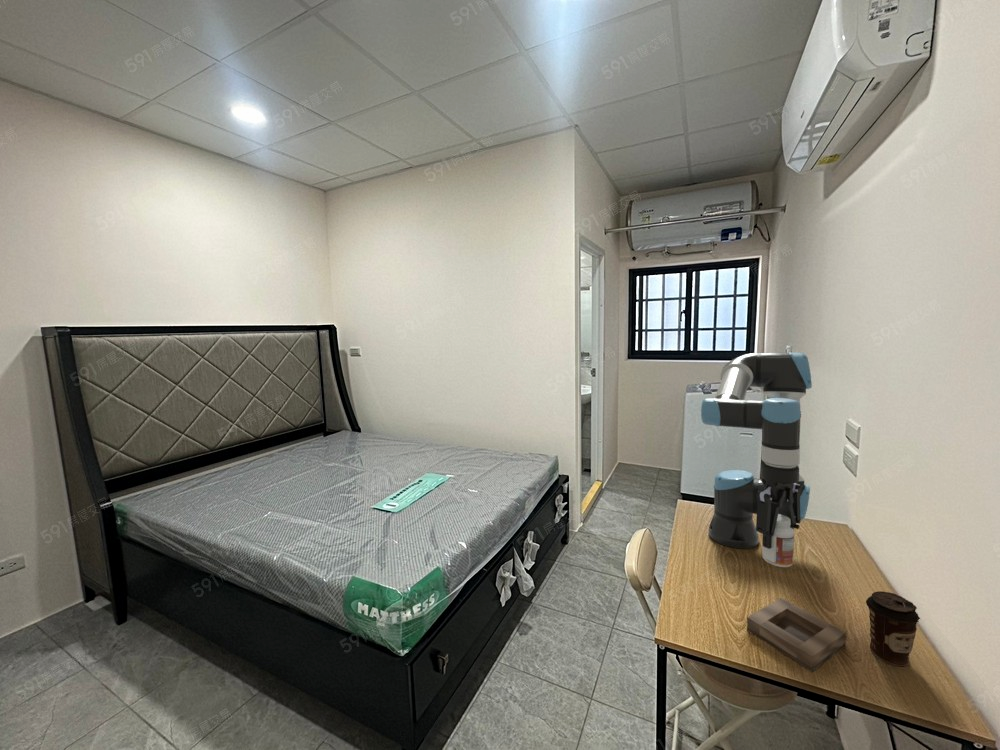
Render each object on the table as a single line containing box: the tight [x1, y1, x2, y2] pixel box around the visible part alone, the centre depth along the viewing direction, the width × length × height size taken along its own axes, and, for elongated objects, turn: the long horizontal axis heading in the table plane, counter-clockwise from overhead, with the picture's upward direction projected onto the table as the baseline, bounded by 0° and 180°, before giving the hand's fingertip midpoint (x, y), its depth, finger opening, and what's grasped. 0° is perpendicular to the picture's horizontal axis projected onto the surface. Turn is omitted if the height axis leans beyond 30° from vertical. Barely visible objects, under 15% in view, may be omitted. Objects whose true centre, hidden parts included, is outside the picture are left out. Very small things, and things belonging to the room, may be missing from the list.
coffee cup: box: [865, 591, 921, 667], centre depth 89 cm, size 9×8×13 cm
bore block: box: [746, 597, 847, 672], centre depth 96 cm, size 14×14×4 cm
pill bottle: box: [763, 514, 795, 568], centre depth 99 cm, size 6×6×11 cm
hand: (778, 555), depth 99 cm, fingers closed on pill bottle, 6 cm apart
